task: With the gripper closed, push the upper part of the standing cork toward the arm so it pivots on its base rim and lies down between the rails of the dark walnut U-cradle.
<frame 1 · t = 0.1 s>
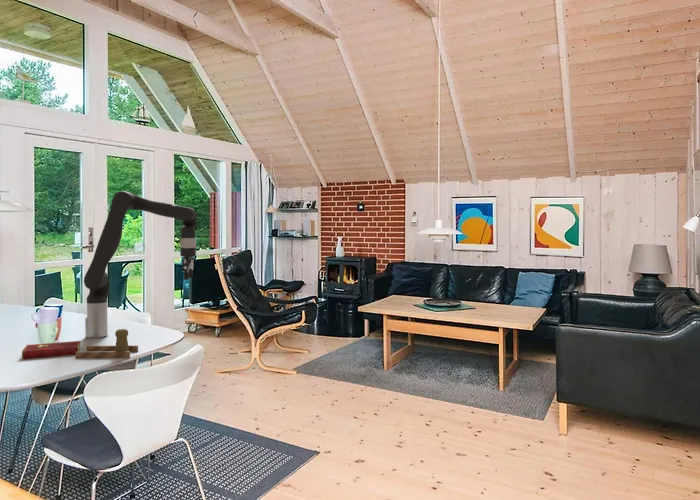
hand: (188, 278, 257), 29 cm above the table, tool pointing down, fingers open, 8 cm apart
cradle: (107, 354, 220), on the table
hardcover book: (52, 355, 221), on the table
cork: (122, 354, 221), resting in cradle
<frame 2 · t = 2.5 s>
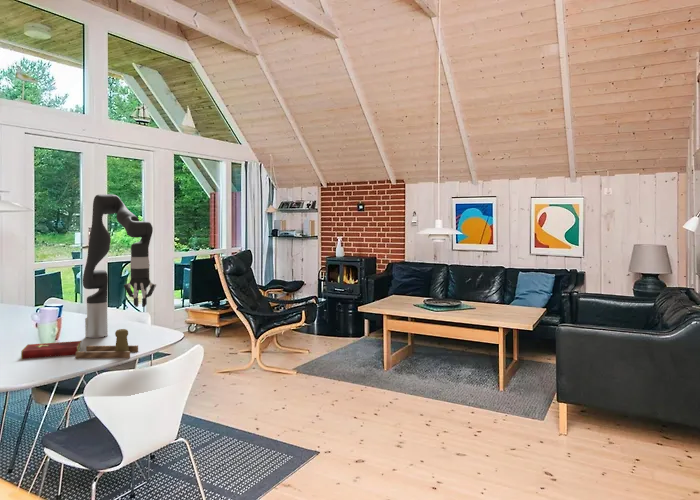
hand: (140, 306, 220), 21 cm above the table, tool pointing down, fingers closed
nothing on the table moved.
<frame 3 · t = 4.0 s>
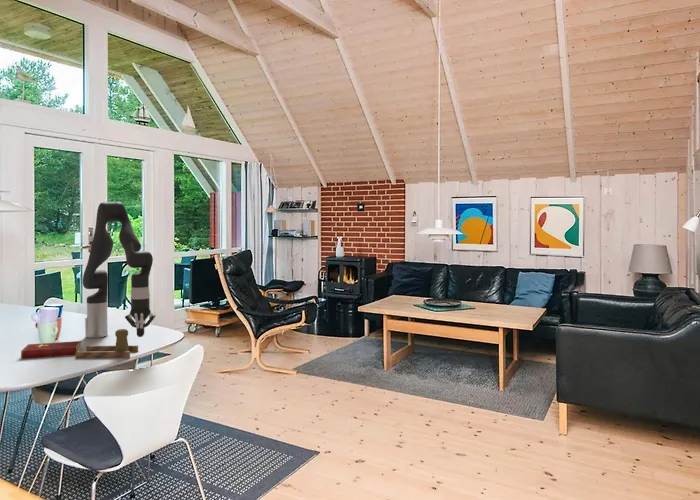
hand: (140, 336, 221), 8 cm above the table, tool pointing down, fingers closed
nothing on the table moved.
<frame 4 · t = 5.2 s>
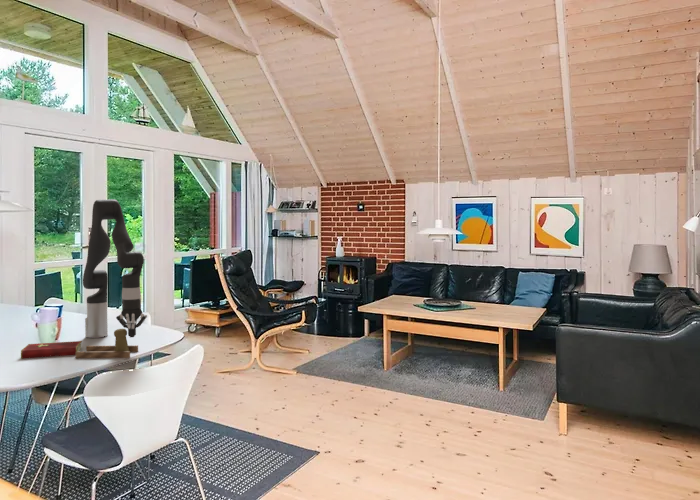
hand: (132, 336, 221), 8 cm above the table, tool pointing down, fingers closed
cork: (122, 354, 221), resting in cradle, touching gripper
everything else where it was.
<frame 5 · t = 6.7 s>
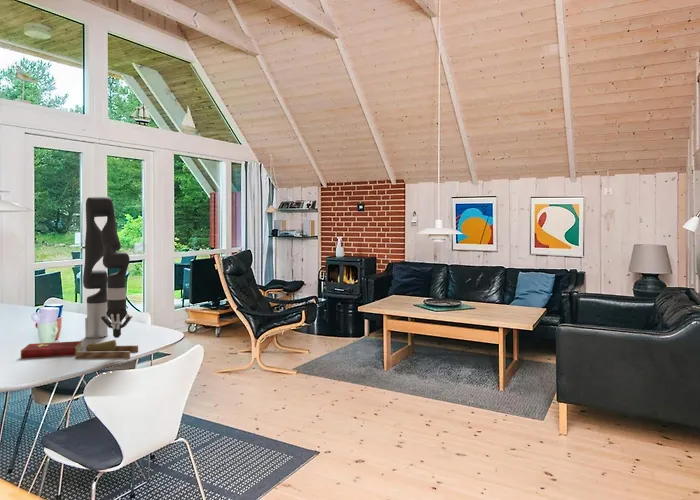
hand: (117, 337, 220), 7 cm above the table, tool pointing down, fingers closed
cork: (115, 346, 222), point 3 cm above the table
everything else where it was.
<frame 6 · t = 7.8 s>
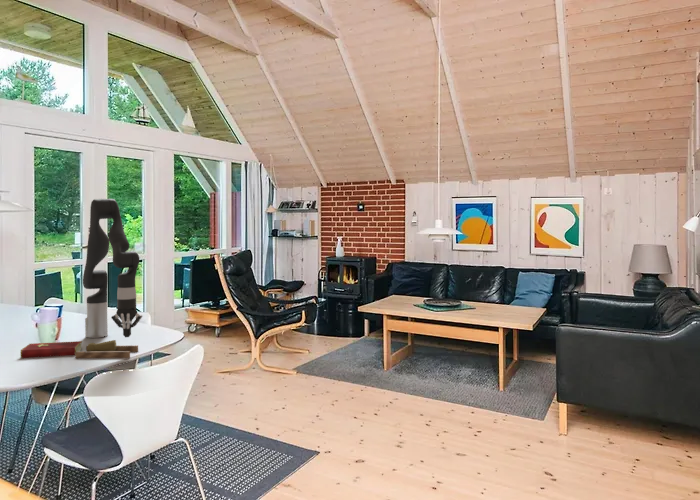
hand: (127, 336, 220), 8 cm above the table, tool pointing down, fingers closed
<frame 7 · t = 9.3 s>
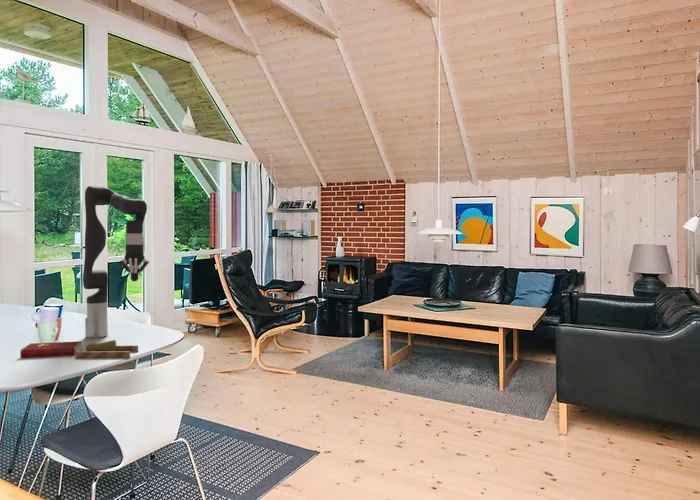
hand: (134, 281, 230), 31 cm above the table, tool pointing down, fingers closed
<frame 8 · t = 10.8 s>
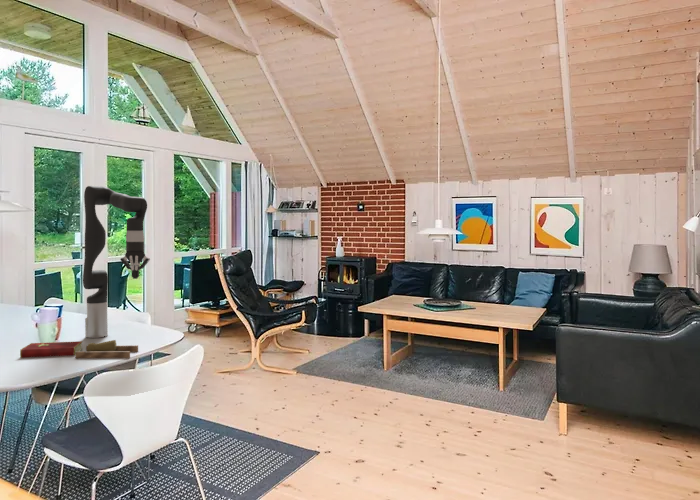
hand: (135, 278, 231), 32 cm above the table, tool pointing down, fingers closed
at the end: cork tilted 93°; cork inside the target area on the cradle (2.5 cm from its centre), point 3.0 cm above the cradle's base; the gripper is holding nothing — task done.
